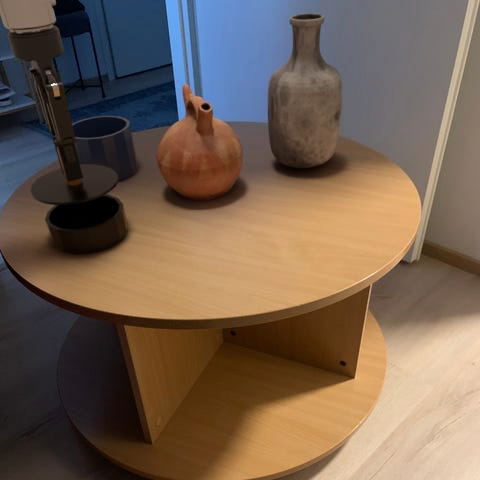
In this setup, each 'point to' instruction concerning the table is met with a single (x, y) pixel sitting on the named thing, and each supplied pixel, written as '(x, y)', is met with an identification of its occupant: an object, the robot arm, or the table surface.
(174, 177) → the jug
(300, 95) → the vase
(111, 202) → the pan
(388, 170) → the table surface
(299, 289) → the table surface
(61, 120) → the robot arm
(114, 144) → the pot
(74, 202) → the lid
